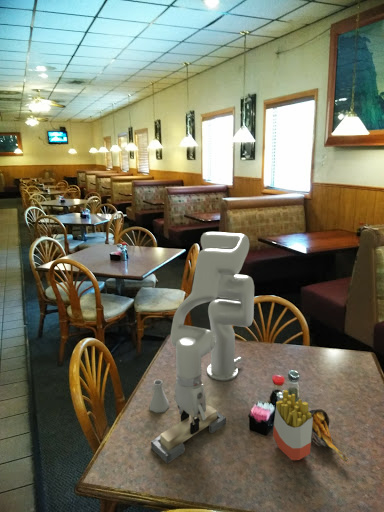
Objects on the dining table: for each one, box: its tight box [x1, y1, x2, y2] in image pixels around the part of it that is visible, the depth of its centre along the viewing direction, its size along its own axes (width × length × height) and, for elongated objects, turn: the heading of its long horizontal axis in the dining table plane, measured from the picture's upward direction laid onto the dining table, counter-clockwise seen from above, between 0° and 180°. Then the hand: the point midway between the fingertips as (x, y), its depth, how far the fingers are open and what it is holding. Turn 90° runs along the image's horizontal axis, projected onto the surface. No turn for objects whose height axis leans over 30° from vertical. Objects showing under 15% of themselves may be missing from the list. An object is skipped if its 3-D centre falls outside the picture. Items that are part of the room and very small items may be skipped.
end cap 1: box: [150, 435, 185, 464], centre depth 111 cm, size 6×8×2 cm
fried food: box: [308, 408, 349, 463], centre depth 112 cm, size 9×11×18 cm
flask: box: [149, 379, 170, 414], centre depth 130 cm, size 7×7×10 cm
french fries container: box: [272, 389, 313, 461], centre depth 108 cm, size 5×11×18 cm, turn 30°
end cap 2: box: [208, 411, 227, 434], centre depth 123 cm, size 6×8×2 cm
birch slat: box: [159, 404, 218, 451], centre depth 116 cm, size 20×4×4 cm, turn 131°
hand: (189, 427), depth 117 cm, fingers closed on birch slat, 4 cm apart
